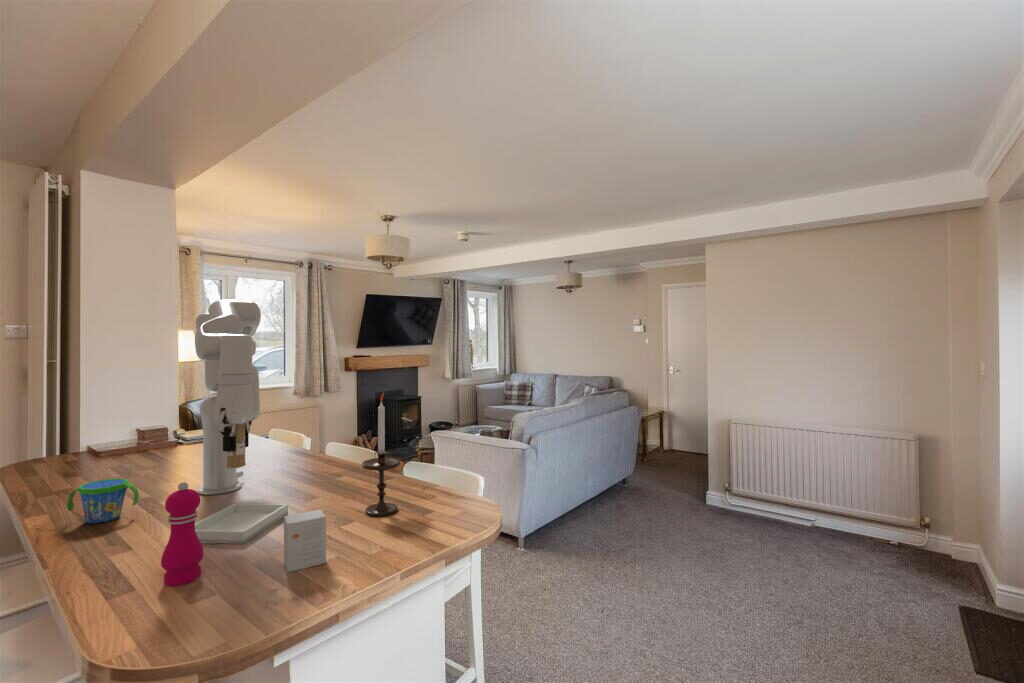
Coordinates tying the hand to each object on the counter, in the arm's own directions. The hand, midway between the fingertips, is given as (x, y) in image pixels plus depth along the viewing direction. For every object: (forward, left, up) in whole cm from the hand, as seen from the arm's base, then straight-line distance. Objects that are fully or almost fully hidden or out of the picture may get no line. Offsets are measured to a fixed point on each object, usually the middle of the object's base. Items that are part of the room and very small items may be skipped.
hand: (235, 448), depth 124 cm
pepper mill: (+27, +7, -21) cm, 35 cm away
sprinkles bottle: (0, 0, -5) cm, 5 cm away
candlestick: (-14, +35, -21) cm, 43 cm away
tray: (0, +1, -21) cm, 21 cm away
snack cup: (-4, -41, -21) cm, 47 cm away
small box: (+19, +29, -21) cm, 40 cm away
